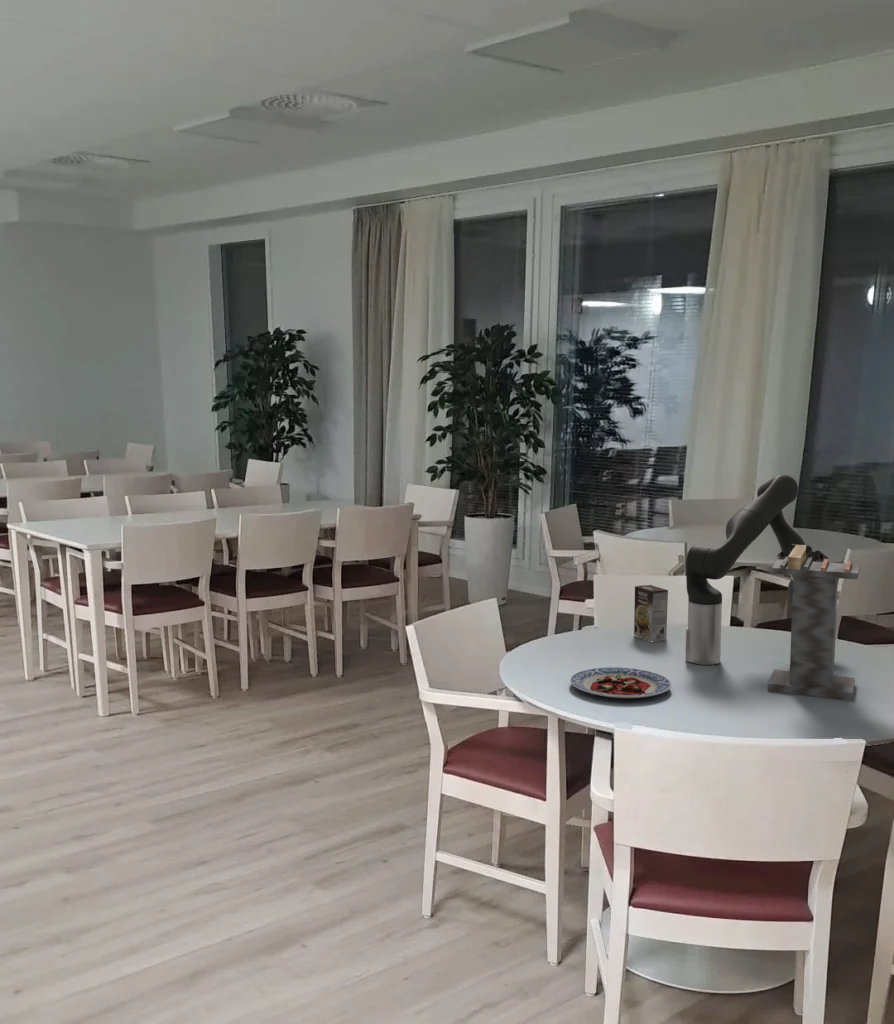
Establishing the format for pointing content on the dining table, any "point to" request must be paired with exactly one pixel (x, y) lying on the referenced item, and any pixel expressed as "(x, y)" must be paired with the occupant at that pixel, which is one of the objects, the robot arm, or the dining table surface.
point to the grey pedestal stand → (814, 631)
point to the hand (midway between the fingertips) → (800, 547)
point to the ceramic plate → (620, 682)
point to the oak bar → (797, 557)
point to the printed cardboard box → (650, 612)
